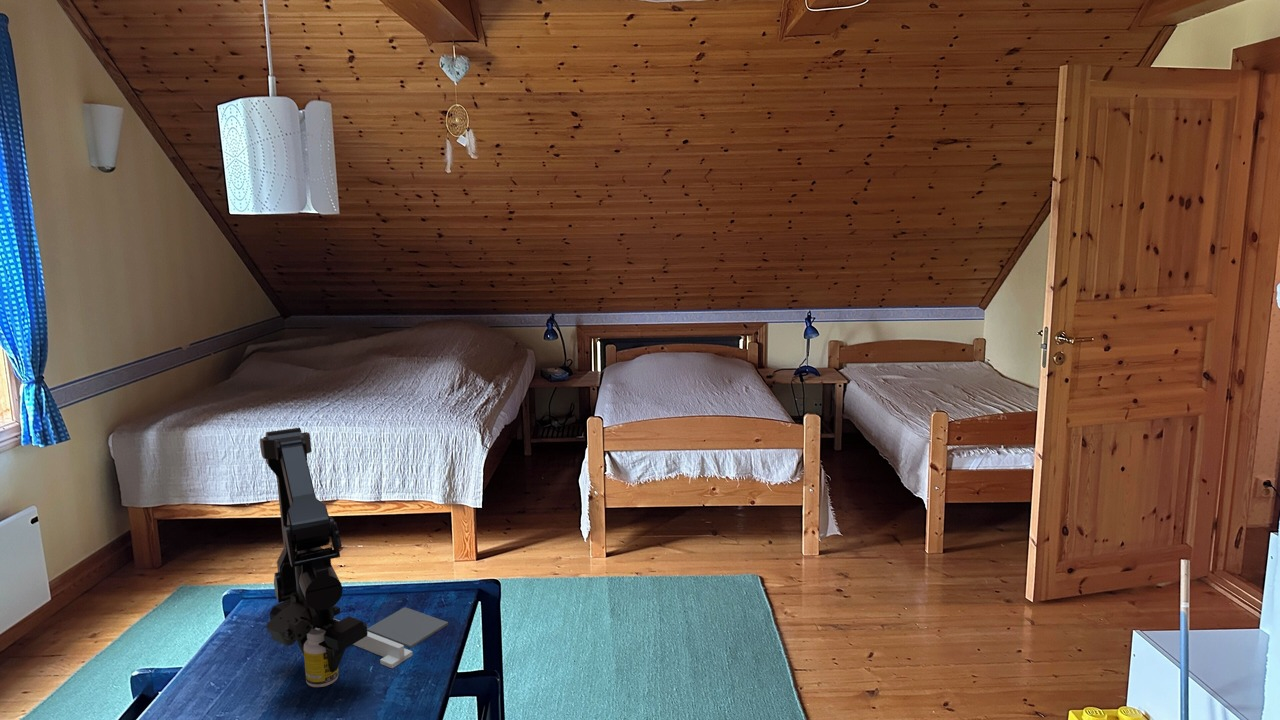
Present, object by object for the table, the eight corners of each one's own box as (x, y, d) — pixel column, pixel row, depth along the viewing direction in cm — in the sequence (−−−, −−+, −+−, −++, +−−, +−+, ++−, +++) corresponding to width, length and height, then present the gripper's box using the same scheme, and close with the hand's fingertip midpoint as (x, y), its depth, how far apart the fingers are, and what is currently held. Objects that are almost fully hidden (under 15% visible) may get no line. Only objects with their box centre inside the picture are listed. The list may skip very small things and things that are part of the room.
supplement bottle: (328, 690, 141) (323, 638, 139) (300, 686, 142) (295, 635, 140) (345, 672, 146) (341, 622, 144) (318, 669, 147) (313, 619, 145)
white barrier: (318, 638, 157) (316, 624, 157) (339, 626, 161) (338, 612, 161) (392, 668, 147) (390, 653, 147) (412, 655, 152) (411, 640, 151)
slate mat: (366, 631, 160) (366, 629, 160) (404, 609, 168) (404, 607, 168) (410, 648, 154) (410, 646, 154) (448, 624, 162) (448, 622, 162)
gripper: (237, 590, 138) (246, 673, 141) (310, 619, 129) (318, 707, 132) (294, 565, 148) (301, 643, 151) (366, 589, 138) (372, 673, 142)
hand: (321, 666), depth 144 cm, fingers open, 6 cm apart
